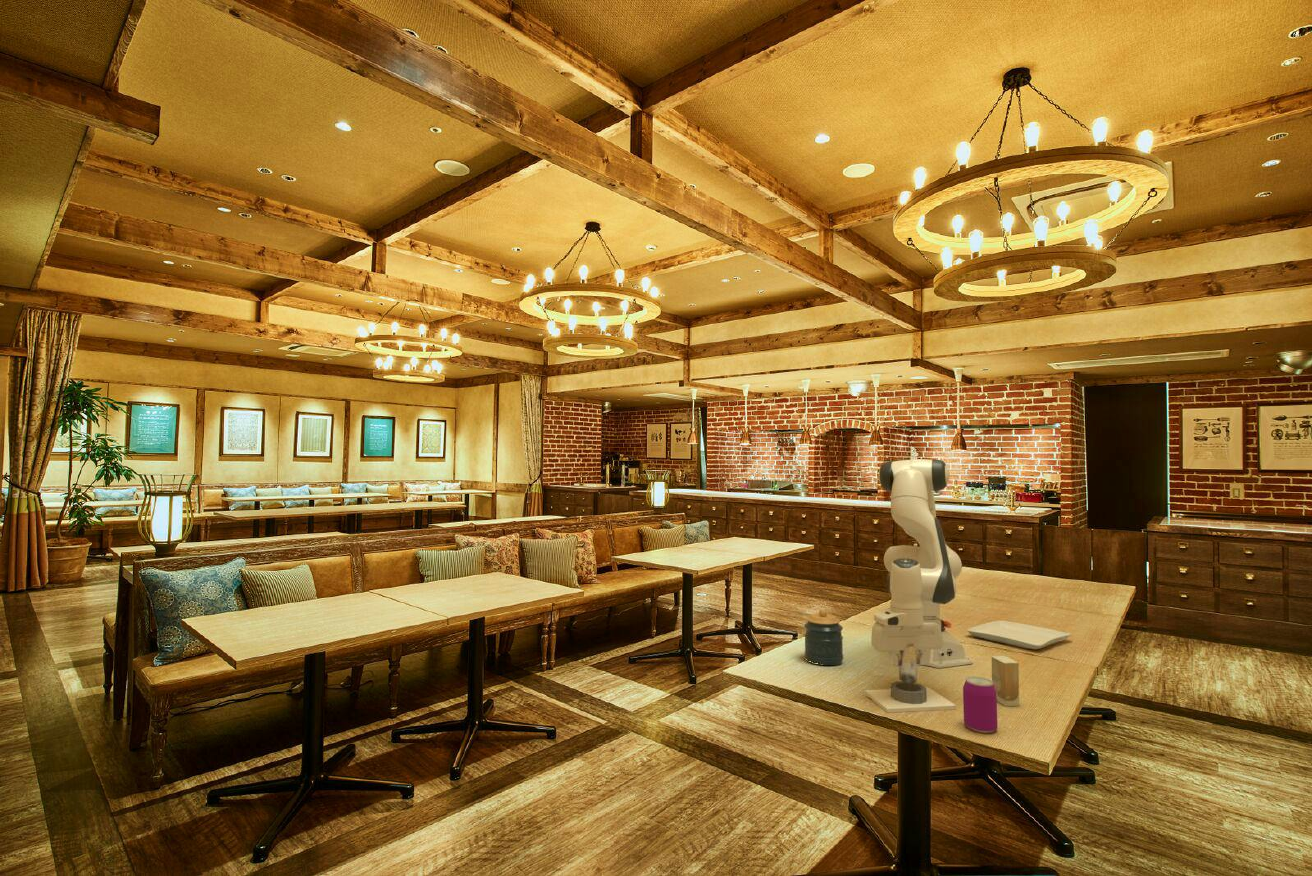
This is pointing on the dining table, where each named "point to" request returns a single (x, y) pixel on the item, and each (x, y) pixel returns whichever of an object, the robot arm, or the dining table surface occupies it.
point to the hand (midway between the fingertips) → (907, 665)
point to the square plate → (1018, 634)
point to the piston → (908, 664)
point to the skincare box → (1006, 680)
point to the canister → (823, 639)
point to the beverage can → (980, 704)
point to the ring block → (909, 698)
